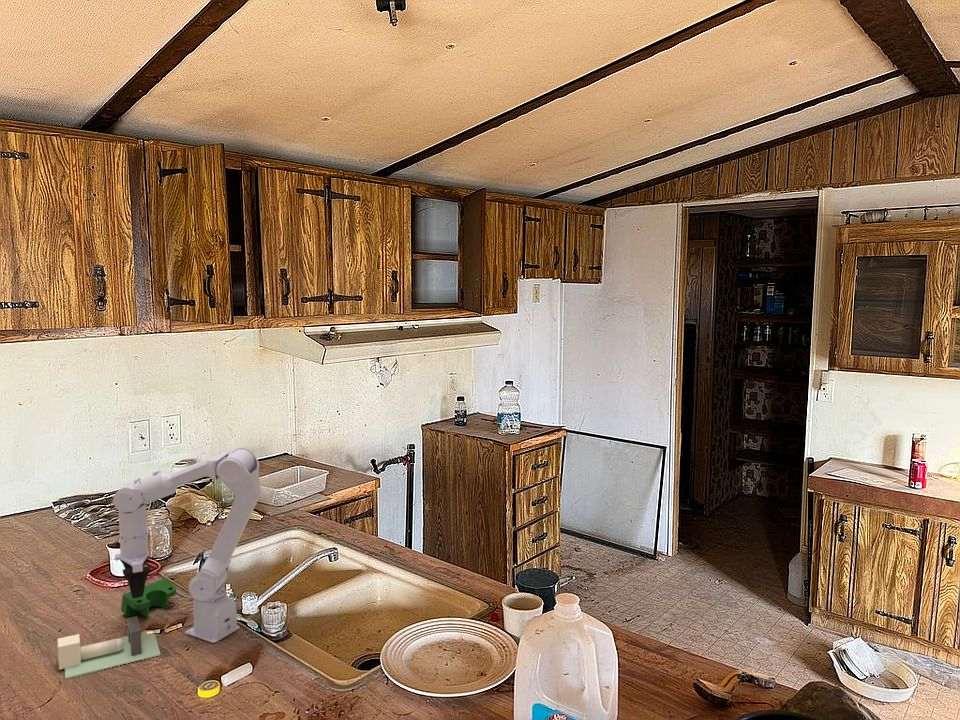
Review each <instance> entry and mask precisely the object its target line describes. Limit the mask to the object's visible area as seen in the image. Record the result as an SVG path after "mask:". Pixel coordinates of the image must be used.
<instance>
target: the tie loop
mask: <svg viewBox="0 0 960 720" xmlns="http://www.w3.org/2000/svg"><path fill="white" fill-rule="evenodd" d="M139 621H140V620H139V618H138V615H137V616H130V617H127V636H128V641H129V643H131V656H134V655H138V654H142V647H141V633H142V630H141V626H140V622H139Z"/></svg>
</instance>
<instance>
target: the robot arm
mask: <svg viewBox="0 0 960 720" xmlns="http://www.w3.org/2000/svg"><path fill="white" fill-rule="evenodd" d="M259 470H260V462H259V460H258V458H257V457H256V455H255V453H254V452H253V450H250V449H249V448H247V447H238V448H235V449H234V450H232V452H231V450H229V451H224V452H222V453H219V454H215V455H212V456H210V457H208V458H205V459H203V460H201V461H198V462H196V463H194V464H192V465H188V466H186V467H184V468H181V469H180V470H177V471H175V472H173V471H169V470H167V469H166V470H165V469H164V470H163V471H161V469H158V470H155V471H154V472H152V474H151V475H149V476H147V477H144V478H142V479H141V478H140V477H138V478H136V479H134V480H133V481H131V482H129V483H128V484H127V485H125V486H123V487H122V488H120V489H118V490H117V491H115V493H114V495H113V497H112V498H113V500H112V502H113V505H114V507H115V508H116V509H117V511H118V527H119V529H118V530H119V531H118V532H119V550H120V551H119V553H116V554H114V560H115V561H119V560H120V562H121V563H122V565H123V567H124V569H122V574H123V576H124V577H125V580H126V581H127V583H128V585H129V586H128V587H129V592H130V591H131V595H132V598H138V597H142V596H143V593H144V588H145V586H146V583H147V578H148V577H149V574H150V572H151V571H152V567H151V566H150V565H148V566H143V564H144V562H145V561H146V559H147V558H148V556H149V555H150V550H149V544H148V541H149V540H148V519H147V516H148V515H147V504H151V503H153V502H155V501H158V500H161V499H163V498H165V497H168V496H170V495H174V494H175V493H176V492H177V490H178V487H179V486H182V485H185V484H188V483H191V482H194V481H196V480H199V479H201V478H204V477H209V478H211V479H213V480H214V481H216V480H218V479H219V480H220V481H221V482H222V483H223V484H224V485H225V486H226V487H227V488H228V489H229V490H230V491H231V492H232V494H233V495H234V497H235V498H234V501H233V503H232V505H231V508H229V511H228V513H227V515H226V518H225V520H224V521H223V522H224V523H223V525H222V527H221V529H220V531H219V533H218V535H217V537H216V539H215V541H214V543H213V546H212V547H211V550H210V552H209V554H208V556H207V558H206V560H205V562H204V563H203V564H202V566H201V568H200V569H199V571H198V573H197V574H196V575H195V576H194V577H193V578H192V579H190V581H189V582H188V593H189V595H190V596H191V598H192V600H193V601H192V604H193V608H192V609H193V610H192V611H193V627H191V628H189V629H187V630H185V634H186V635H188V636H192V637H194V638H198V639H199V640H204V641H206V642H208V643H211V644H215V643H218V642H219V641H220V640H222V639H224V638H226V637H227V636H229V635H231V634H233V633H235V632H236V631H237V630H239V629H240V626H239V625H238V618H237V615H238V614H237V613H238V612H237V611H238V610H237V608H238V607H237V603H236V602H235V600H233V599H232V598H230V597H229V596H228V594H227V589H226V586H225V582H226V581H227V579H228V577H229V575H230V573H229V572H230V571H229V566H230V564H231V561H232V560H231V558H232V556H233V554H234V552H235V550H236V548H237V545H238V544H239V541H240V539H241V537H242V535H243V533H244V531H245V529H246V527H247V525H248V522H249V520H250V519H251V516H252V514H253V512H254V509H255V507H256V506H257V503H258V501H259V500H260V496H261V493H262V489H261V480H260V471H259Z"/></svg>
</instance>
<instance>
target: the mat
mask: <svg viewBox="0 0 960 720" xmlns="http://www.w3.org/2000/svg"><path fill="white" fill-rule="evenodd" d="M145 632H146V631H143V632H141V647H142V654H138V655H134V656H131V643H129V641H128V635H125V636H122V637H117V638H116V639H122V640H123V642H124V647H123V649H122V650H121V651H119V652H115V653H111V654H107V655H103V656H99V657H94V658H90V659H86V660H82V661H81V665H77V666H73V667H69V668H64V679H65V680H69V679H74V678H78V677H80V676H85V675H88V674H94V673H97V671H98V672H101V670H102V671H105V670H104V669H106V670H109V669H108V668H110V669H113V668H112V667H114V668H116V667H115V666H118V667H121V666H120V665H122V666H124V665H123V664H126V665H129V664H128V663H130V664H132V663H131V662H134V663H136V662H135V661H138V662H140V661H139V660H142V661H145V660H144V659H146V660H148V659H149V658H150V659H153V658H152V657H154V658H157V657H156V656H158V657H161V656H160V655H162V654H161V650H160V648H159V643H158V639H157V638H156V637H157V636H156V633H155V634H147V633H145ZM113 639H114V638H113ZM113 639H111V640H113ZM109 640H110V639H109ZM109 640H107V641H109ZM100 642H101V641H100ZM100 642H98V643H100ZM96 643H97V642H95V643H94V644H96ZM87 645H88V644H87ZM87 645H85V646H87ZM83 646H84V645H83ZM83 646H81V647H83ZM147 658H148V659H147Z"/></svg>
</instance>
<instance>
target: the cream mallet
mask: <svg viewBox="0 0 960 720" xmlns="http://www.w3.org/2000/svg"><path fill="white" fill-rule="evenodd" d="M80 637H81V636H80V633H78V634H72V635H69V636H63V637H60V638H57V655H58V656H57V657H58V658H57V659H58V670H63V669H64V670H65V668H69V667H73V666H77V665H81V661H82V660H86V659H90V658H94V657H99V656H103V655H107V654H111V653H115V652H119V651H121V650H122V649H123V647H124V642H123V640H122V639H117V638H113V640H112V639H109V641H108V640H104V641H100V643H99V642H95V643H96V644H95V643H92V644H87V646H86V645H83V647H82V646H81V640H80Z"/></svg>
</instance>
